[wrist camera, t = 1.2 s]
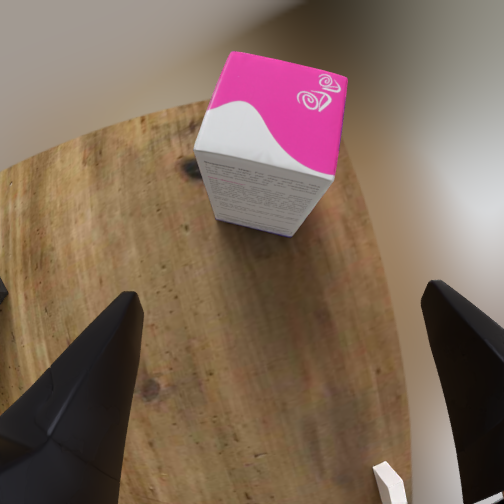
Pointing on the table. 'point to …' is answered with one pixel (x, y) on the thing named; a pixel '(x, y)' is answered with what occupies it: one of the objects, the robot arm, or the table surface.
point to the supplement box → (270, 141)
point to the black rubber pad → (2, 291)
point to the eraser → (389, 484)
